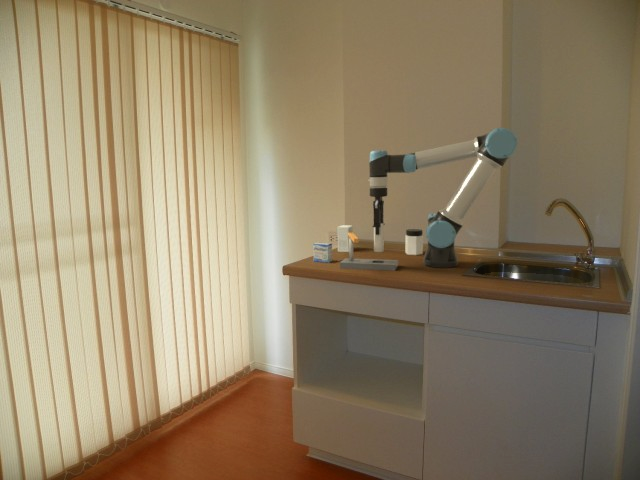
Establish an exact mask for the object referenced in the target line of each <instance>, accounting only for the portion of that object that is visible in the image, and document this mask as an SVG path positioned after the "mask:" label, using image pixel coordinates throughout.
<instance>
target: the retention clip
mask: <svg viewBox="0 0 640 480" xmlns="http://www.w3.org/2000/svg"><path fill="white" fill-rule="evenodd" d="M348 237H350V238H351V239H352V241H353V244H354V243H359V237H358V236H356V234H355V232H353V233H348Z"/></svg>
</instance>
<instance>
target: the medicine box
mask: <svg viewBox="0 0 640 480" xmlns="http://www.w3.org/2000/svg"><path fill="white" fill-rule="evenodd" d="M312 247H313V262H314V263H325V264H326V263H327V264H329V263H331V262H333V243H329V242H328V243H326V242H315V243H313V246H312Z"/></svg>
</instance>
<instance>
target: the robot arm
mask: <svg viewBox="0 0 640 480" xmlns="http://www.w3.org/2000/svg"><path fill="white" fill-rule="evenodd" d="M517 147H518V138H517V135H516V134H515V133H514V131H512V130H511V129H509V128H507V127H496V128H494V129H493V130H491V131H490V132H487V133H486V134H483V135H480V136H475V137H474V139H472V140H467V141H463V142H457V143H453V144H448V145H443V146H440V147H435V148H430V149H425V150H420V151H415V152H412V153H411V152H410V153H406V154H388V150H384V149H382V150H371V151H370V153H369V161H368V164H369V179H368V182H369V187H370V188H369V196H370V197H371V198H374V201H373V200H372V201H373V203H372V206H373V225H372V228H374V227H375V242H381V223H383V224H384V225H385V223H384V222H385V221H384V206H385V205H384V204H385V202H384V200H383V197H384V198H385V197H387V196H388V185H389V183H388V173H389V174H391V173H393V174H395V173H397V174H409V173H410V174H411V173H415V172H416V171H417V170H421V169H422V170H423V169H425V168H427V169H428V168H431V167H436V166H437V167H438V166H443V165H446V164H451V163H456V162H461V161H466V160H472V159H476V160H475V162H474V163H473V164H472V166H471V167H470V168H469V170H468V172H467V173H466V175H465V176H464V178H463V179H462V181H461V183H460V184H459V186H458V187H457V188H456V190H455V191H454V193H453V195H452V196H451V198H450V200H449V201H448V202H447V204H446V205H445V207H444V208H442V209H439V210H438V211H437V212H436V213H429V214H428V218H427V228H426V231H425V236H426V240H427V248H426V250H425V254H424V256H423V260H422V261H423V265H425V266H426V267H431V268H442V269H443V268H445V269H446V268H454V267H457V266H459V265H458V264H459V259H458V255H457V251H456V250H455V239H456V237H457V235H458V233H459V232H460V230H461V229H462V228H463V226H464V222H463V220H464V218H465V216H466V215H467V213H468V212H469V211H470V209H471V207H472V206H473V204H474V203H475V201H477V199H478V197H479V196H480V194H481V193H482V192H483V189H485V187H486V185H487V184H488V182H489V181H490V179H491V178H492V176H493V175H494V173H495V172H496V170H498V169H501V168H503V167H504V165H505V164H506V162H507V161H508V159H509V158H510V157H511V156H512V155H513V154H514V153H515V151H516V150H517Z"/></svg>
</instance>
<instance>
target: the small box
mask: <svg viewBox="0 0 640 480" xmlns="http://www.w3.org/2000/svg"><path fill="white" fill-rule="evenodd" d="M353 226H354V225H350V224H345V225H344V224H342V225H339V226H337V228H336V229H337V230H336V231H337V236H336V237H337V252H338V253H339V252H340V253H341V252H342V253H349V237H348V233H354V227H353Z"/></svg>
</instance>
